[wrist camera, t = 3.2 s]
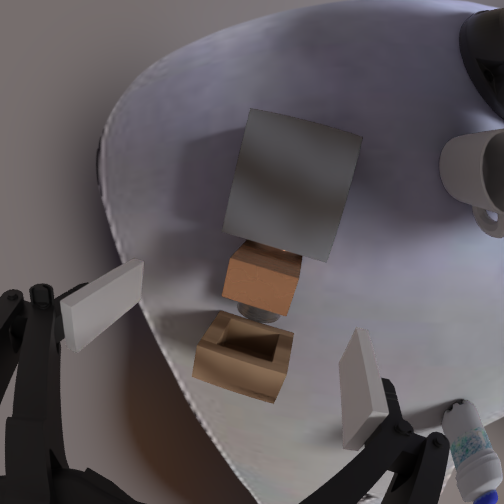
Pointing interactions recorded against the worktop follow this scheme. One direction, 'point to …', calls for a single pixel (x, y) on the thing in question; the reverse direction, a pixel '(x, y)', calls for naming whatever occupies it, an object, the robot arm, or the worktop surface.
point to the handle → (262, 281)
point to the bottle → (472, 454)
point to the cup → (477, 176)
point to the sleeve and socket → (277, 235)
